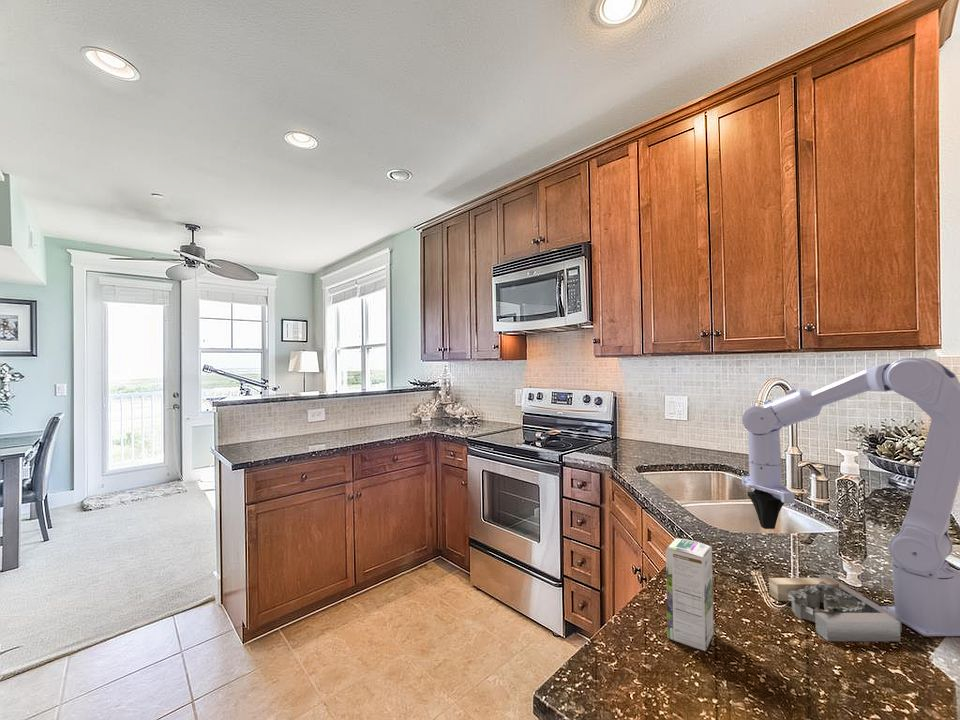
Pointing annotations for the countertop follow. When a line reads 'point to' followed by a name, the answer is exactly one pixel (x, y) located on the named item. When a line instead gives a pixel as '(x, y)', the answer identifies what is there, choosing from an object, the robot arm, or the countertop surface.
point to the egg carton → (822, 601)
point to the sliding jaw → (794, 585)
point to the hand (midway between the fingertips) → (767, 527)
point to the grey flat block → (858, 622)
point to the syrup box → (689, 593)
